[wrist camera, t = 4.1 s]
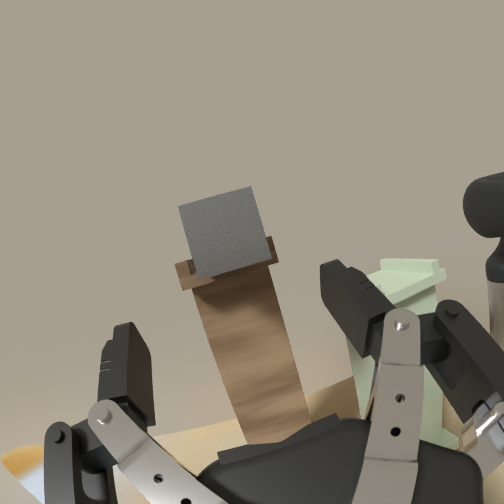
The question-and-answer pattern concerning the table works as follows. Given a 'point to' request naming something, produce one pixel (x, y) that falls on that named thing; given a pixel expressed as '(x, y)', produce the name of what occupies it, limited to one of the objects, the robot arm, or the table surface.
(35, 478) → the table surface
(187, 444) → the table surface
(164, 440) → the table surface
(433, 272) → the pale green pedestal
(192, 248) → the grey block
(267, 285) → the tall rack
